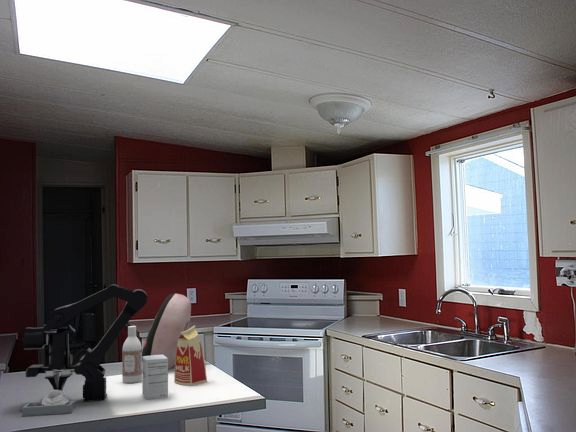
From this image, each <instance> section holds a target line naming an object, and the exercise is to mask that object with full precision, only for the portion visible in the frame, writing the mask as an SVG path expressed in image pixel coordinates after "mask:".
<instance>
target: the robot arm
mask: <svg viewBox="0 0 576 432" xmlns="http://www.w3.org/2000/svg"><path fill="white" fill-rule="evenodd" d="M112 298H116V299H118V300H119V299H120V300H122V301H125V302H126V303H125V305H124V307H123V309H122V311H121V312H120V314H119V315H118V317H117V318H116V320H114V322H113V323H112V324H111V326H110V327H109V329H108V330H107V332H106V333H105V334H104V335H103V336H102V338H101V340H99V342H98V344H97V345H96V346H94V348H91V347H88V348H87V350H86V353H85V354H84V355H83V356H82V357H80V359H79V361H78V363H76V364H75V365H73V357H74V355H73V354H71V353H70V344H69V343H70V341H69V340H70V338H69V337H70V335H69V334H74V333H75V332H76V329H75V328H74V327H72V326H71V324H69V325H68V326H67V327H63V326H65V325H67V323H69V322H70V321H72V320H74V319H75V318H76V317H77V316H78V315H80V314H82V313H83V312H85V311H87V310H90V309H92V308H93V307H96V306H98V305H100V304H102V303H104V302H106V301H108V300H110V299H112ZM147 303H148V294H147V292H146V291H145V290H143V289H140V288H138V289H134V290H133V289H132V288H131V289H130V288H126V287H123V286H120V285H118V284H114V283H113V284H110V285H109V286H108V287H106V288H104V289H102V290H100V291H98V292H96V293H94V294H91V295H89V296H87V297H85V298H84V299H83V298H82V300H79V301H77V302H74V303H71V304H67V305H63V306H60V307H57V308H55V309H54V310H52V311H51V312H50V313H49V315H48V321H47V322H46V324H44V325H43V327H25V328H24V333H23V334H24V335H23V339H22V348H23V350H25V351H26V350H42V349H45V346H49V352H48V357H49V358H48V359H49V360H48V362H49V363H48V364H49V365H48V366H44V363H43V364H42V363H40V364H32V365H29V367H27V368H26V369H25V378H36V377H37V376H38V375H39V374H45V376H44V379H45V380H48V382H49V383H50V385H51V386H52V389H53V390H61V391H63V392H64V387H65V384H66V382H67V380H68V378H70V377H72V376H73V373H75V374H76V375H81V376H82V377H84V378H85V380H84V384H83V385H82V399H83V402H91V401H104V400H105V399H106V398H107V397H108V393H107V377H105V374H106V370H107V369H105V368H104V367H103V366H102V365H101V363H103V362H102V361H103V360H104V357H105V356H106V353H107V352H108V350H109V349H110V347H111V346H112V345H113V343H115V341H116V340H117V338H118V337H119V335H120V334H121V333H122V331H123V330H124V328H125V327H126V325H128V323H129V321H130V320H131V319H132V318H133V317H134V316H135V315H136V314H137V313H138V312H139V311H140V310H142V308H143V307H145V306H146V305H147ZM54 328H57V329H56V330H53V329H54ZM60 374H61V375H60Z"/></svg>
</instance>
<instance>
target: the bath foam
mask: <svg viewBox="0 0 576 432" xmlns="http://www.w3.org/2000/svg"><path fill="white" fill-rule="evenodd" d="M142 351H143V347H142V342H141V341H140V339H139V338H138V337H137V325H130V326H127V338H126V339H125V341H124V342H123V345H122V350H121V353H122V355H121V357H122V359H121V360H122V361H121V362H122V366H121V367H122V368H121V369H122V371H121V373H122V383H124V384H136V383H140V382H142Z"/></svg>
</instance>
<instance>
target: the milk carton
mask: <svg viewBox="0 0 576 432" xmlns="http://www.w3.org/2000/svg"><path fill="white" fill-rule="evenodd" d="M207 377H208V376H207V369H206V362H205V357H204V352H203V347H202V344H201V339H200V335H199V333H198V332H197V330H196V325H193V326H191V327H189V329H188V330H186V331H184V332H181V336H180V337H179V338H178V344H177V351H176V360H175V364H174V379H173V380H174V381H173V382H174V383H175V384H178V385H181V386H194V385H199V384H203V383H207V382H208V378H207Z"/></svg>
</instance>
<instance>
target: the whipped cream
mask: <svg viewBox="0 0 576 432" xmlns="http://www.w3.org/2000/svg"><path fill="white" fill-rule="evenodd" d="M70 402H71V401H70V399H69V398H68V397H66V396H65V395H64V390H63V391H61V390H54V389H53V390H51V391H49V392H47V393H46V394H45V396H44V397H43V399H42V401H41V406H48V405H64V404H69V403H70Z"/></svg>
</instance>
